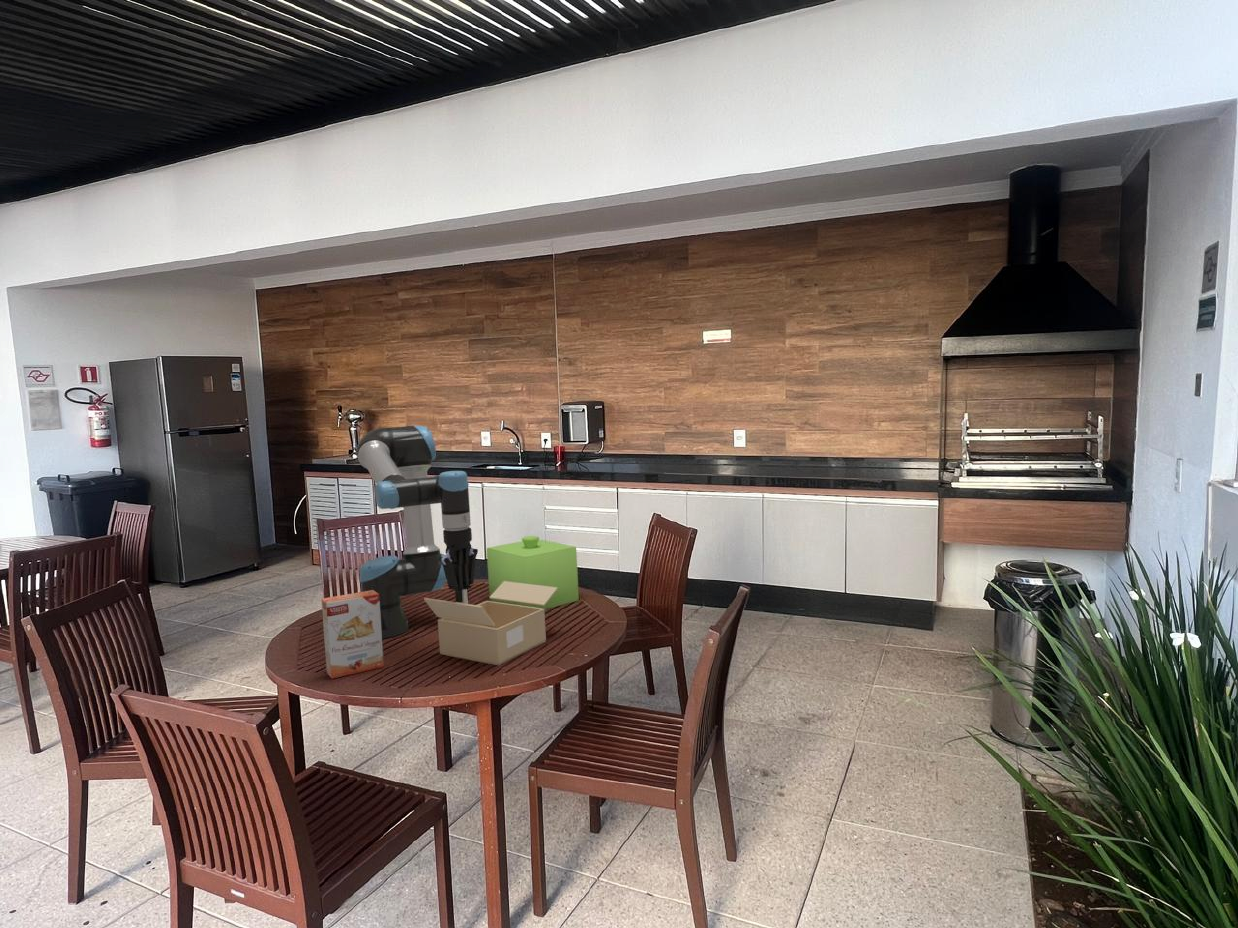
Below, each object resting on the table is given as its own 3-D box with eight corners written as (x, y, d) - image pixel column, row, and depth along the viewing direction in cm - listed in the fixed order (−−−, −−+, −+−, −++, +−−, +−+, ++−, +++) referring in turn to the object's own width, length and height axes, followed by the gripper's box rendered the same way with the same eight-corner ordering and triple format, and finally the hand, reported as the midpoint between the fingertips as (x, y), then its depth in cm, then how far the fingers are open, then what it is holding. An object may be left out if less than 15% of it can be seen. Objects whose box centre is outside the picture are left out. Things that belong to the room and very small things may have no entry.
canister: (489, 600, 266) (485, 537, 264) (538, 588, 279) (535, 528, 277) (528, 614, 247) (524, 546, 245) (578, 600, 260) (575, 536, 258)
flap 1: (437, 616, 209) (423, 599, 204) (438, 615, 209) (424, 597, 205) (494, 626, 198) (480, 607, 193) (495, 624, 198) (481, 605, 194)
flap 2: (489, 597, 228) (503, 581, 233) (489, 598, 228) (504, 582, 234) (543, 604, 217) (557, 587, 223) (544, 606, 217) (558, 588, 223)
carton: (440, 653, 211) (437, 619, 210) (489, 632, 228) (487, 600, 228) (499, 665, 199) (497, 629, 198) (546, 642, 217) (544, 608, 216)
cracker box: (331, 680, 194) (325, 602, 192) (326, 673, 199) (320, 597, 197) (385, 667, 202) (379, 592, 200) (378, 661, 207) (373, 588, 205)
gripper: (450, 533, 193) (457, 620, 195) (483, 524, 204) (489, 607, 206) (429, 531, 197) (436, 617, 199) (463, 522, 208) (469, 604, 210)
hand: (463, 612), depth 203 cm, fingers closed
